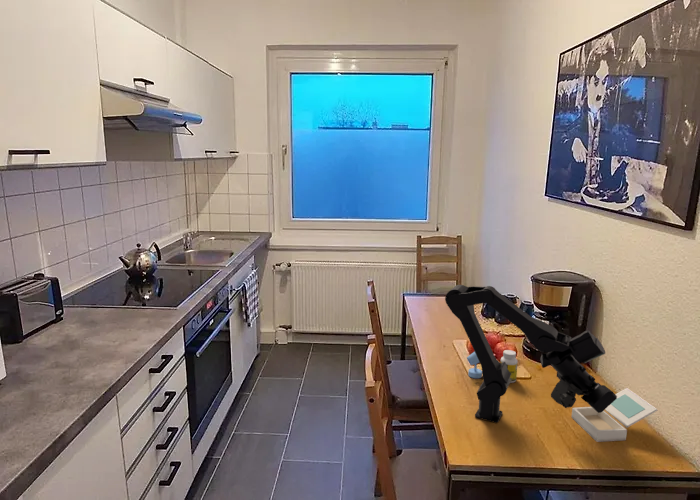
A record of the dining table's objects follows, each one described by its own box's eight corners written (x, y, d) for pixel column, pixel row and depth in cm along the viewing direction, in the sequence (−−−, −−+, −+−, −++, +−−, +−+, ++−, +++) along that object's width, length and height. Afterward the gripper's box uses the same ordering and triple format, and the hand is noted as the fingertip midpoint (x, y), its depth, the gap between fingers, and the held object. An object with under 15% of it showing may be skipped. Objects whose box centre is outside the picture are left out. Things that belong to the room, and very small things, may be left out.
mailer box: (596, 441, 123) (597, 431, 123) (571, 417, 135) (572, 407, 134) (625, 440, 124) (627, 429, 123) (598, 416, 136) (599, 406, 135)
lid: (656, 408, 123) (657, 410, 123) (626, 387, 135) (627, 389, 135) (625, 426, 123) (626, 428, 123) (598, 403, 135) (599, 405, 135)
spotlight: (482, 371, 164) (463, 372, 163) (484, 344, 162) (465, 345, 161) (489, 377, 159) (469, 379, 158) (490, 349, 158) (471, 351, 156)
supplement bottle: (497, 381, 157) (499, 353, 155) (500, 374, 162) (502, 347, 160) (514, 384, 154) (516, 356, 153) (517, 378, 159) (519, 350, 157)
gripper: (528, 372, 134) (561, 407, 137) (565, 406, 116) (601, 445, 119) (558, 346, 134) (590, 381, 137) (599, 375, 115) (634, 415, 119)
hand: (602, 404), depth 128 cm, fingers closed
